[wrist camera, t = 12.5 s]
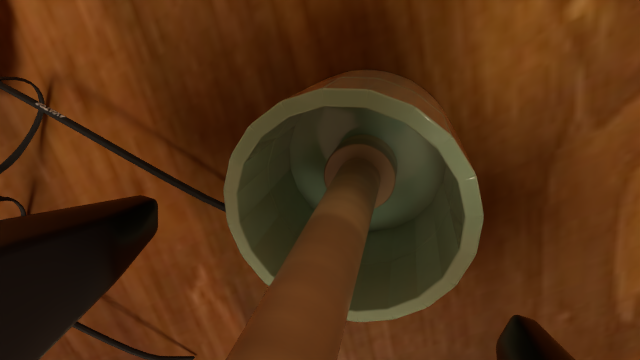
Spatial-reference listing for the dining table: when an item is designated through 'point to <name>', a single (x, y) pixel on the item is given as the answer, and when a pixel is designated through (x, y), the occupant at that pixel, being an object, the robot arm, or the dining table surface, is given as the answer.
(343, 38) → the dining table surface
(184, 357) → the glasses
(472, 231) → the green mortar bowl
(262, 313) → the wooden pestle
